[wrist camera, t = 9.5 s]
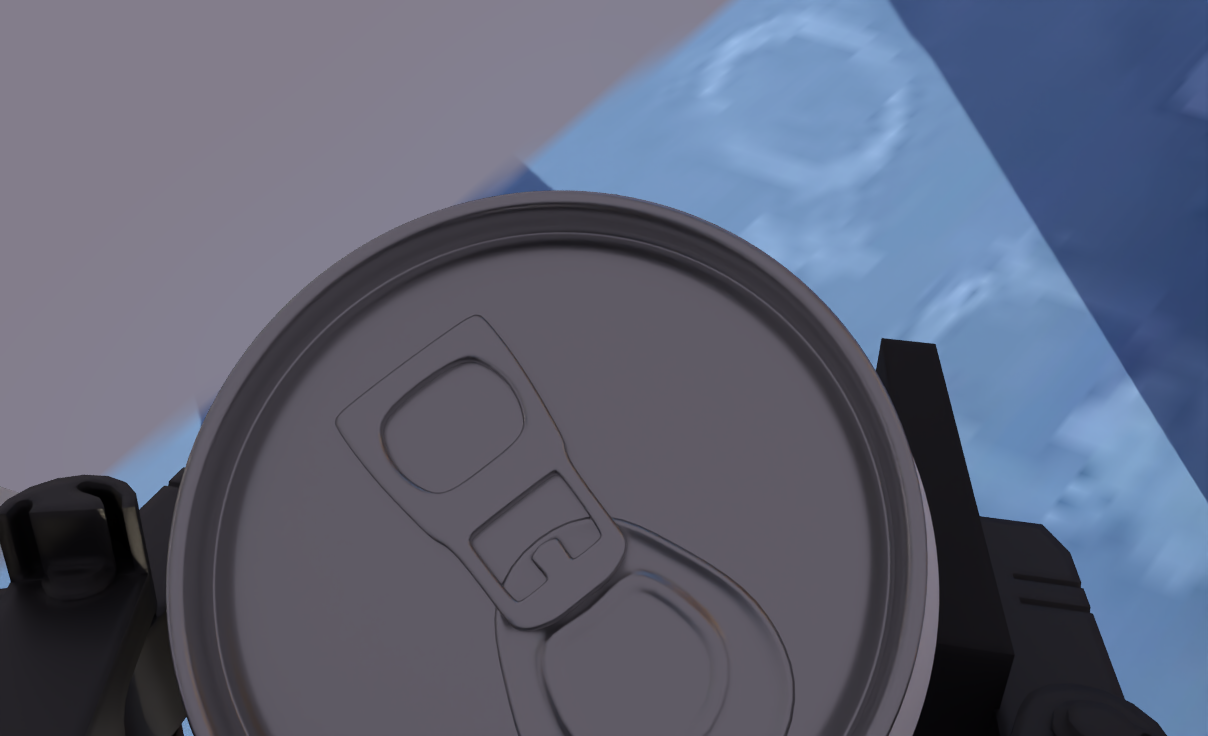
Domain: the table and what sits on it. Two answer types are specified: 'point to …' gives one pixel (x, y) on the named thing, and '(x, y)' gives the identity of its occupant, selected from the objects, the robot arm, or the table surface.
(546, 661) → the can
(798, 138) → the table surface
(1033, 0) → the table surface
